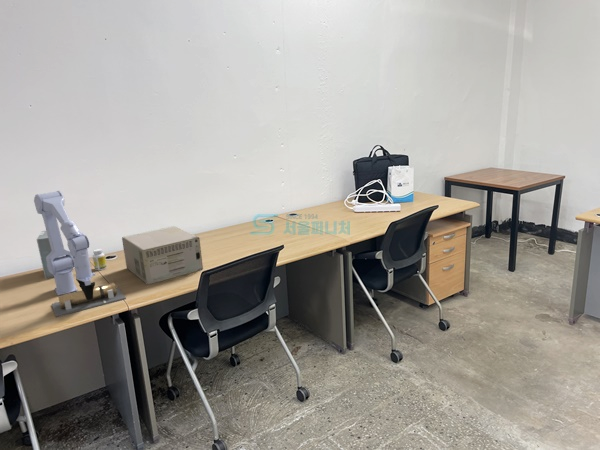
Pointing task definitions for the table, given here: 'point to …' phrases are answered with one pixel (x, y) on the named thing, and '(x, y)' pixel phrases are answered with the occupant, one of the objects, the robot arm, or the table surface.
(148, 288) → the table surface
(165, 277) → the beige vented electronics case
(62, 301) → the brass tube
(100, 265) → the supplement bottle
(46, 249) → the hard drive box
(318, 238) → the table surface
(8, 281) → the table surface
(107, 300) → the gray cradle stand
